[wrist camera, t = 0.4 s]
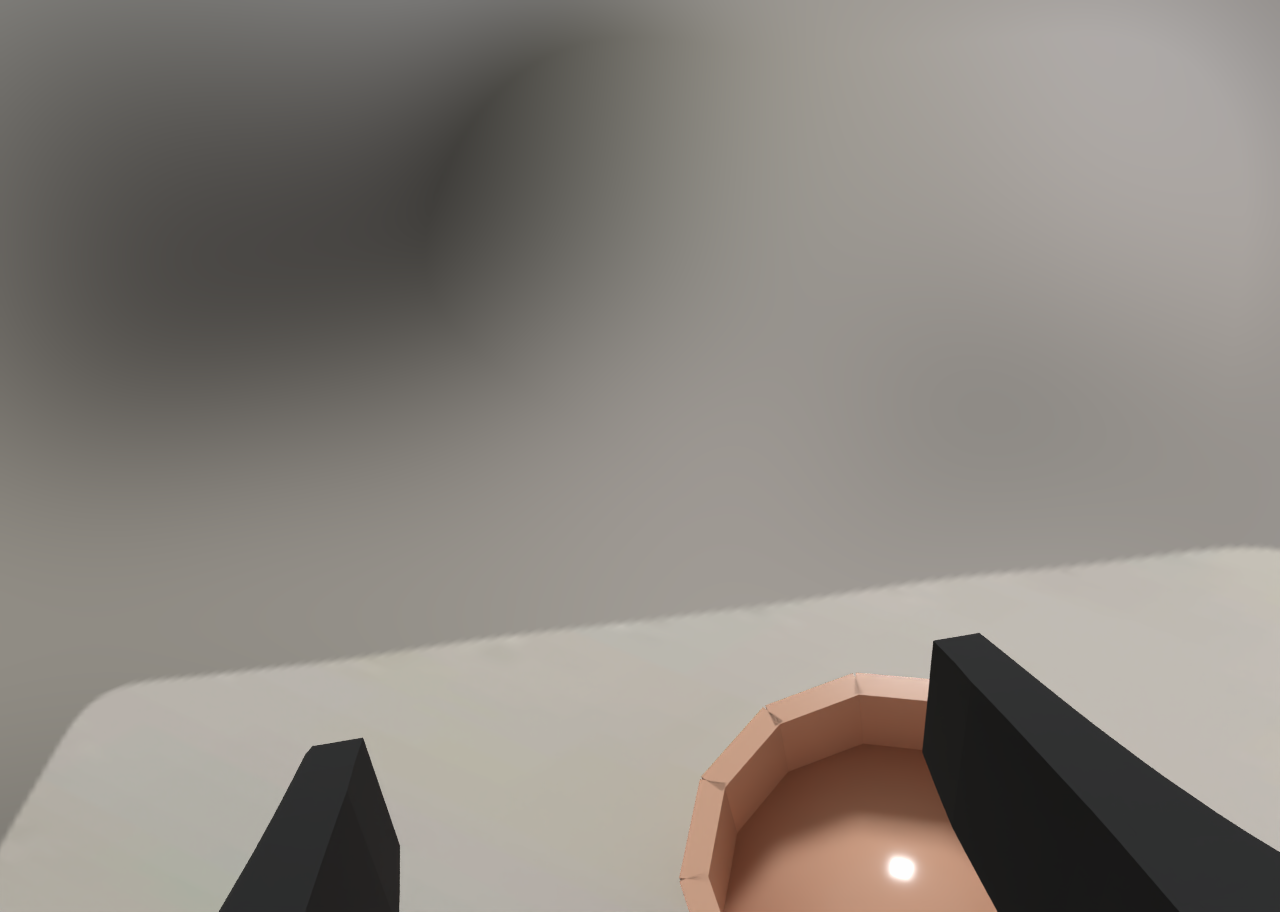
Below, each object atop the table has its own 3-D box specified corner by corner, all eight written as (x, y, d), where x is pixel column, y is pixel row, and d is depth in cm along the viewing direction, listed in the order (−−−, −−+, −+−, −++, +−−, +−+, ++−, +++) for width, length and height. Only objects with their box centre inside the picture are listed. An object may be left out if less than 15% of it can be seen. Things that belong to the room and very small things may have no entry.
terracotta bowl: (1214, 1045, 24) (1245, 997, 22) (793, 1222, 23) (778, 1191, 21) (971, 688, 33) (975, 627, 30) (658, 806, 32) (638, 752, 30)
